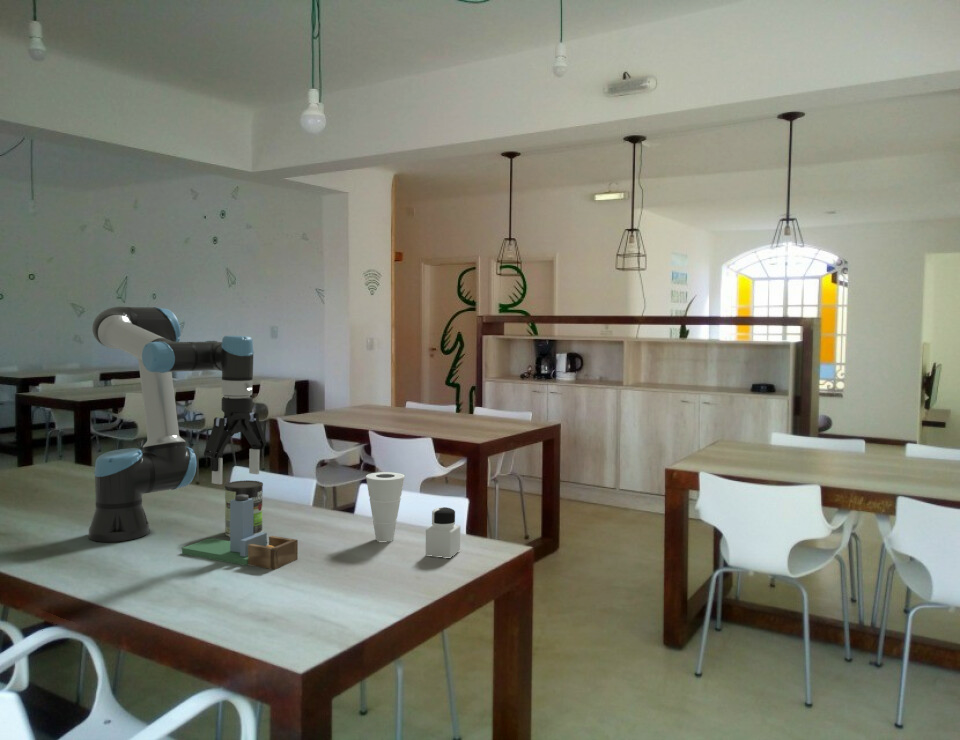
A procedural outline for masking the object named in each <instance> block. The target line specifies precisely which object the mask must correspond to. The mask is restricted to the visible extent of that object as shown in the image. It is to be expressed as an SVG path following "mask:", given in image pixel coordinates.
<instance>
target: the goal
mask: <svg viewBox="0 0 960 740" xmlns="http://www.w3.org/2000/svg"><path fill="white" fill-rule="evenodd" d="M298 544H299V543H298V539H295V538H289V537H282V536H276V535H270V536H268V545H271V546H274V547H268V545H267V546H262V545H256V544H250V545H248V565H247V566H252V567H258V568H263V569H269V570H274V571H275V570H277V569H279V568H281V567H284V566H286V565H288V564H290V563H292V562H295V561H297V560H298V554H299V553H298V549H299V548H298Z"/></svg>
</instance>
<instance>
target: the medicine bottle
mask: <svg viewBox="0 0 960 740" xmlns="http://www.w3.org/2000/svg"><path fill="white" fill-rule="evenodd" d="M459 550H460V551H461V525H459V524H456V511H455V509H453V508H451V507H443V506H442V507H441V506H440V507H435V508H434V509H432V510H431V525H430V526H429V527H428V528H426V529H425V556H426V555H432V556H442V557H452V556H453V555H454V554H456V553H457V552H458V551H459ZM458 553H459V552H458ZM458 553H457V554H458ZM457 554H456V555H457ZM453 557H454V556H453ZM453 557H452V558H453Z"/></svg>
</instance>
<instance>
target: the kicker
mask: <svg viewBox="0 0 960 740" xmlns="http://www.w3.org/2000/svg"><path fill="white" fill-rule="evenodd" d="M267 534H268V533H267V532H264V531H263V532H261V533H258V534H255V535H253V499H251V498H248V495H246V494H240V495H236V496H235V499H233V500H230V537H229V538H230V539H229V541H230V551H233V552H239V553H240V556H243V557H246V556H248V545H250V544H256V545H262V546H268V544H267V541H268V537H267V536H268V535H267Z"/></svg>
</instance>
